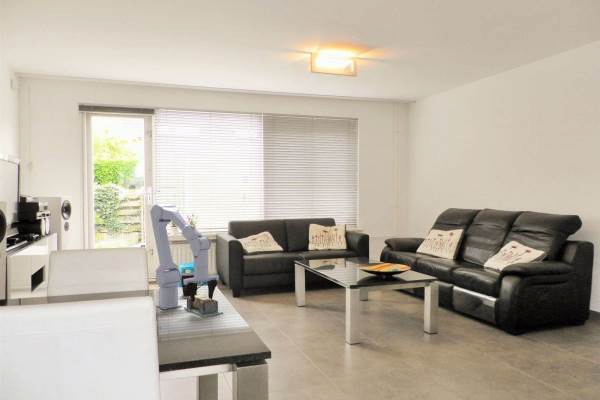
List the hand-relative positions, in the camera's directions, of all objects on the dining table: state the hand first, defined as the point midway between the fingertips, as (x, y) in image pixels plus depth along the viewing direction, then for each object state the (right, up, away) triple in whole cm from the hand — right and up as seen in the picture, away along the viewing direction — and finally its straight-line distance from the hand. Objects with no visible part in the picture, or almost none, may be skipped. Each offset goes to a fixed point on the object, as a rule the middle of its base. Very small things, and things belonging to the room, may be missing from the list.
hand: (201, 300), depth 189 cm
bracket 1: (-3, -5, +5) cm, 8 cm away
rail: (0, -3, 0) cm, 3 cm away
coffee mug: (-12, -5, +36) cm, 38 cm away
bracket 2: (+4, -5, -5) cm, 8 cm away
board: (+1, -5, 0) cm, 5 cm away
